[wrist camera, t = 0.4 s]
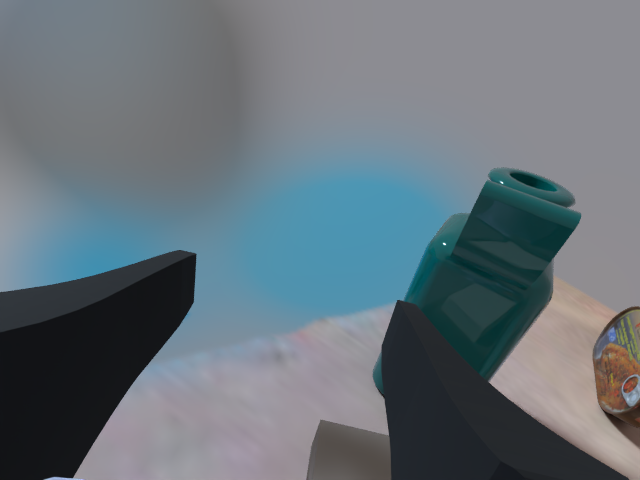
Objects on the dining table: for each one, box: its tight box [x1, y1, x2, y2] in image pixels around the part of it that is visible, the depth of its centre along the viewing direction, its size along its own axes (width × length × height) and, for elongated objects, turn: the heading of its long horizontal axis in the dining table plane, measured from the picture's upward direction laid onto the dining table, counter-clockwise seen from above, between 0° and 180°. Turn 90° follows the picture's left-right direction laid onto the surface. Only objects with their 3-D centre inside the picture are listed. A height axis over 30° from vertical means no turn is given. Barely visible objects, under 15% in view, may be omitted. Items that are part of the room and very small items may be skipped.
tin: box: [593, 306, 640, 428], centre depth 36 cm, size 15×3×8 cm, turn 146°
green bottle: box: [373, 167, 581, 395], centre depth 27 cm, size 10×8×22 cm
